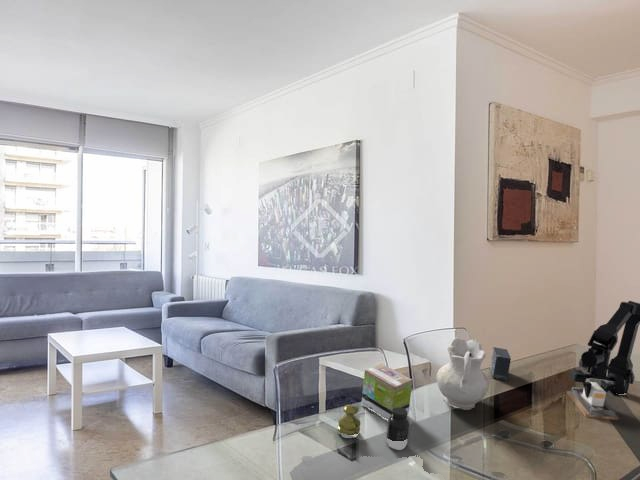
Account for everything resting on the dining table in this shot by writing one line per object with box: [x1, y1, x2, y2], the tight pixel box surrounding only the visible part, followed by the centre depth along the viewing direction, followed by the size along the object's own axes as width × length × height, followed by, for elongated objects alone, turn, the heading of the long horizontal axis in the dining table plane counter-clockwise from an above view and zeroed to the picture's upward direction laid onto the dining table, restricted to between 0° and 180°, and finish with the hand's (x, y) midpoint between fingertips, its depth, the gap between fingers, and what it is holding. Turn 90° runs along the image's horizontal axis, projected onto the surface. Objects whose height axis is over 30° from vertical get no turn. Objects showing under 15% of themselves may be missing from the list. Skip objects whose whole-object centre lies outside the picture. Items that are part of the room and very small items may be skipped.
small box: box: [489, 347, 512, 381], centre depth 217 cm, size 11×6×10 cm, turn 168°
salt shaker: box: [337, 404, 362, 435], centre depth 164 cm, size 7×7×10 cm
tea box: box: [361, 363, 413, 420], centre depth 179 cm, size 15×10×15 cm, turn 42°
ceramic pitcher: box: [436, 336, 490, 407], centre depth 187 cm, size 22×20×25 cm
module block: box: [583, 381, 607, 407], centre depth 194 cm, size 4×8×6 cm, turn 175°
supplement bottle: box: [386, 407, 410, 441], centre depth 159 cm, size 7×7×12 cm
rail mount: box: [566, 386, 620, 421], centre depth 195 cm, size 12×18×3 cm, turn 175°
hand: (593, 397), depth 195 cm, fingers closed on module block, 4 cm apart
